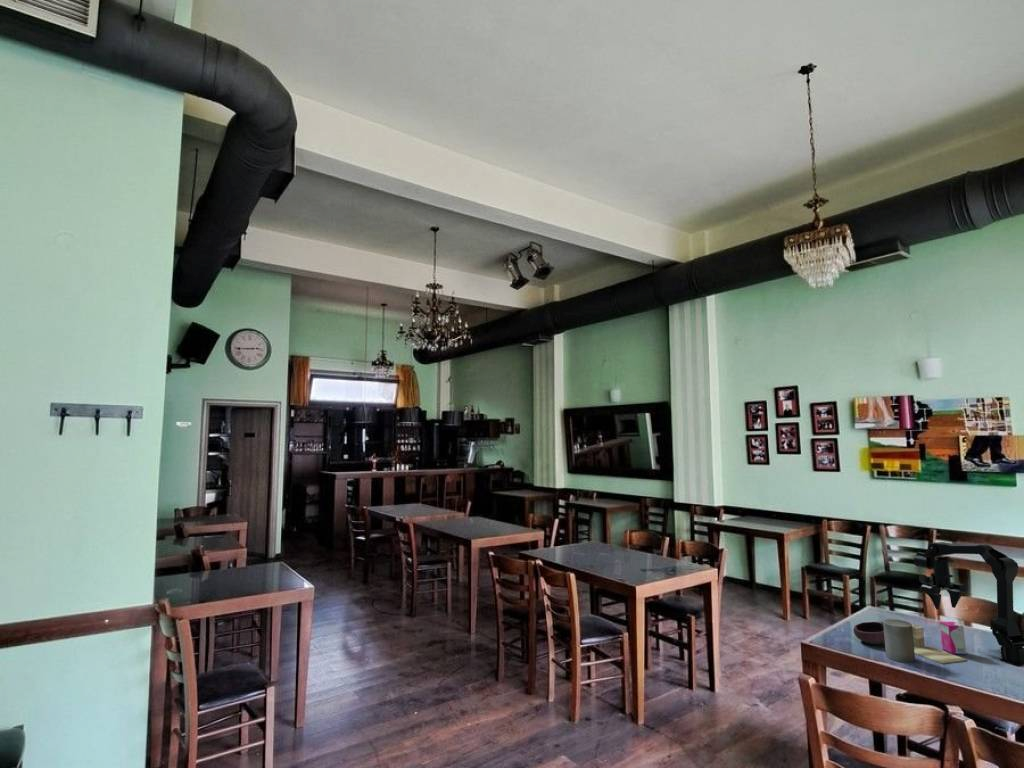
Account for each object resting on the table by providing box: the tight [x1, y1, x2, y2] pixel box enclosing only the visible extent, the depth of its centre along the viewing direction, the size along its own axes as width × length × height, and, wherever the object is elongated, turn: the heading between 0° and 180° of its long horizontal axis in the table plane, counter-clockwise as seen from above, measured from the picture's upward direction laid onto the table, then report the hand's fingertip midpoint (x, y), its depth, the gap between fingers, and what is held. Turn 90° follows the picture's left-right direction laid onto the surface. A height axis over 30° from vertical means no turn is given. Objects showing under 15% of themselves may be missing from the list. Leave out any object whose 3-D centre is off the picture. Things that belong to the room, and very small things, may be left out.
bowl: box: [853, 620, 885, 646], centre depth 237 cm, size 16×13×8 cm
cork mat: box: [914, 645, 968, 665], centre depth 222 cm, size 15×13×1 cm
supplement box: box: [939, 621, 967, 656], centre depth 226 cm, size 6×6×12 cm
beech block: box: [911, 623, 926, 648], centre depth 233 cm, size 4×4×8 cm
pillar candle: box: [882, 618, 916, 663], centre depth 220 cm, size 10×10×15 cm
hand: (945, 608), depth 240 cm, fingers open, 9 cm apart
